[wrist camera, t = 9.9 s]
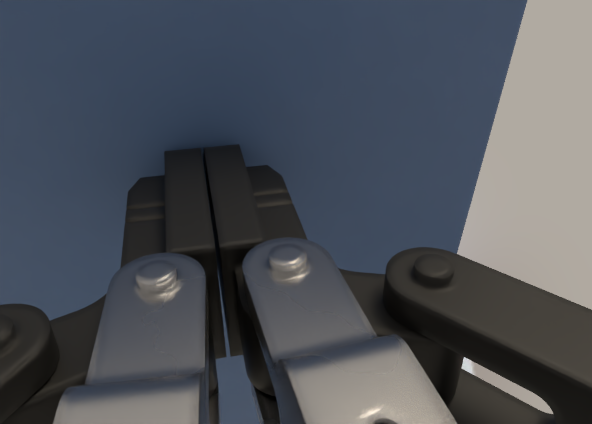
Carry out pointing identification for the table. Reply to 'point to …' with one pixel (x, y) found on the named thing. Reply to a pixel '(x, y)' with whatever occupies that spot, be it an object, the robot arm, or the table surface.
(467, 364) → the table surface
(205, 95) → the box lid
